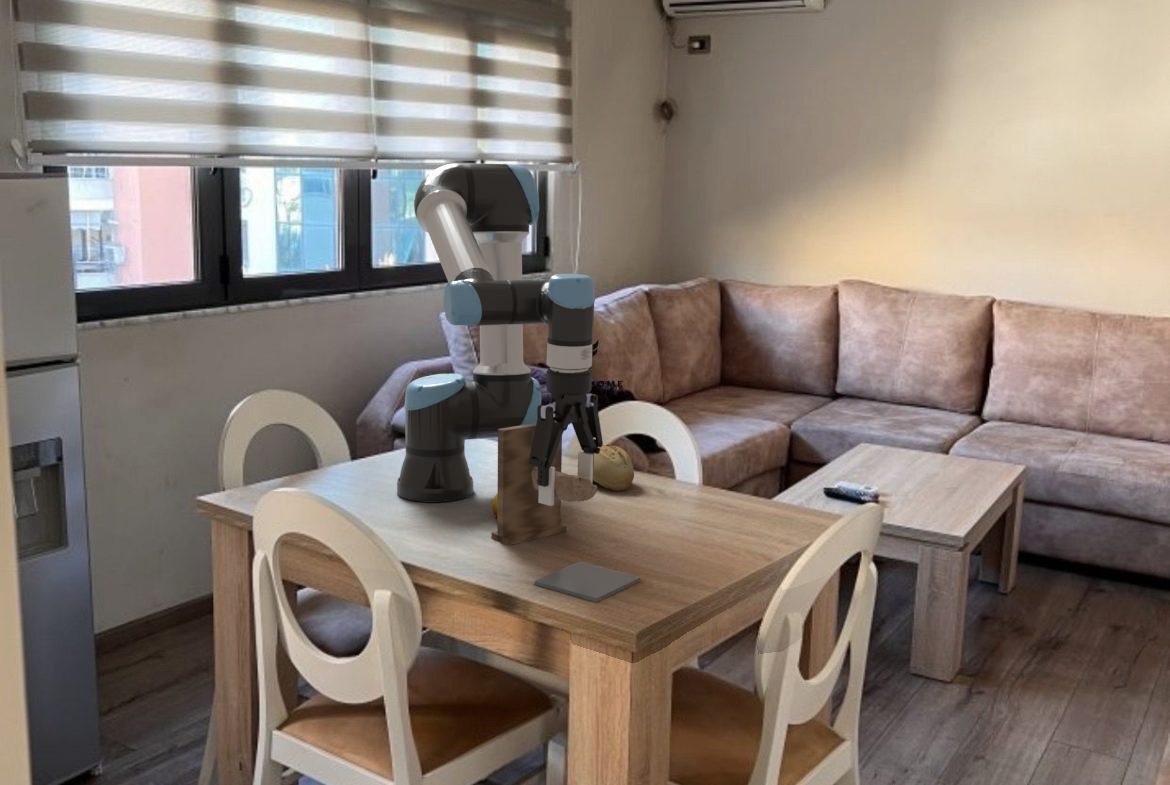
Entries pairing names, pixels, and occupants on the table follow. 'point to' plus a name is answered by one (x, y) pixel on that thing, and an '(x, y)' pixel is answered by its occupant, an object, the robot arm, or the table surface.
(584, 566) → the pad
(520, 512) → the board
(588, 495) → the stone
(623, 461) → the bread roll
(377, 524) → the table surface
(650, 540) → the table surface
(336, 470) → the table surface
